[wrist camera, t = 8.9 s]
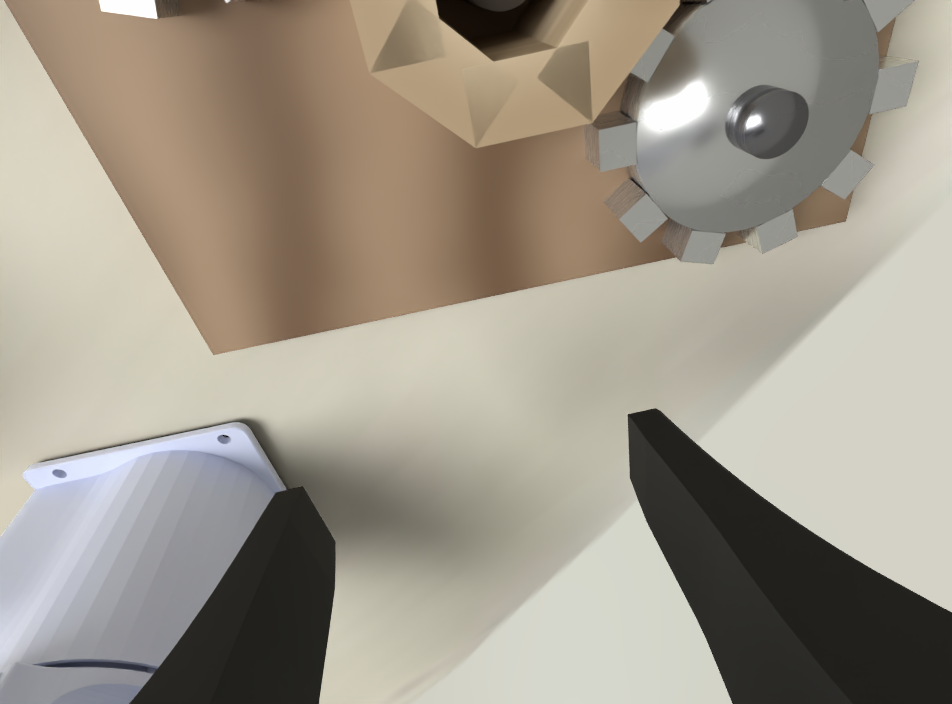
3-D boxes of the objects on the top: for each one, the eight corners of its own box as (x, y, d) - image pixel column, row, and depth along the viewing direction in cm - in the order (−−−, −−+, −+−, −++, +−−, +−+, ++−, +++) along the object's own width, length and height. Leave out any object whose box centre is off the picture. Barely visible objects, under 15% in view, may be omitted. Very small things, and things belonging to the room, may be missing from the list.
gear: (591, 266, 18) (615, 302, 16) (574, -38, 13) (605, -43, 11) (839, 213, 17) (895, 243, 15) (916, -114, 13) (1013, -133, 11)
